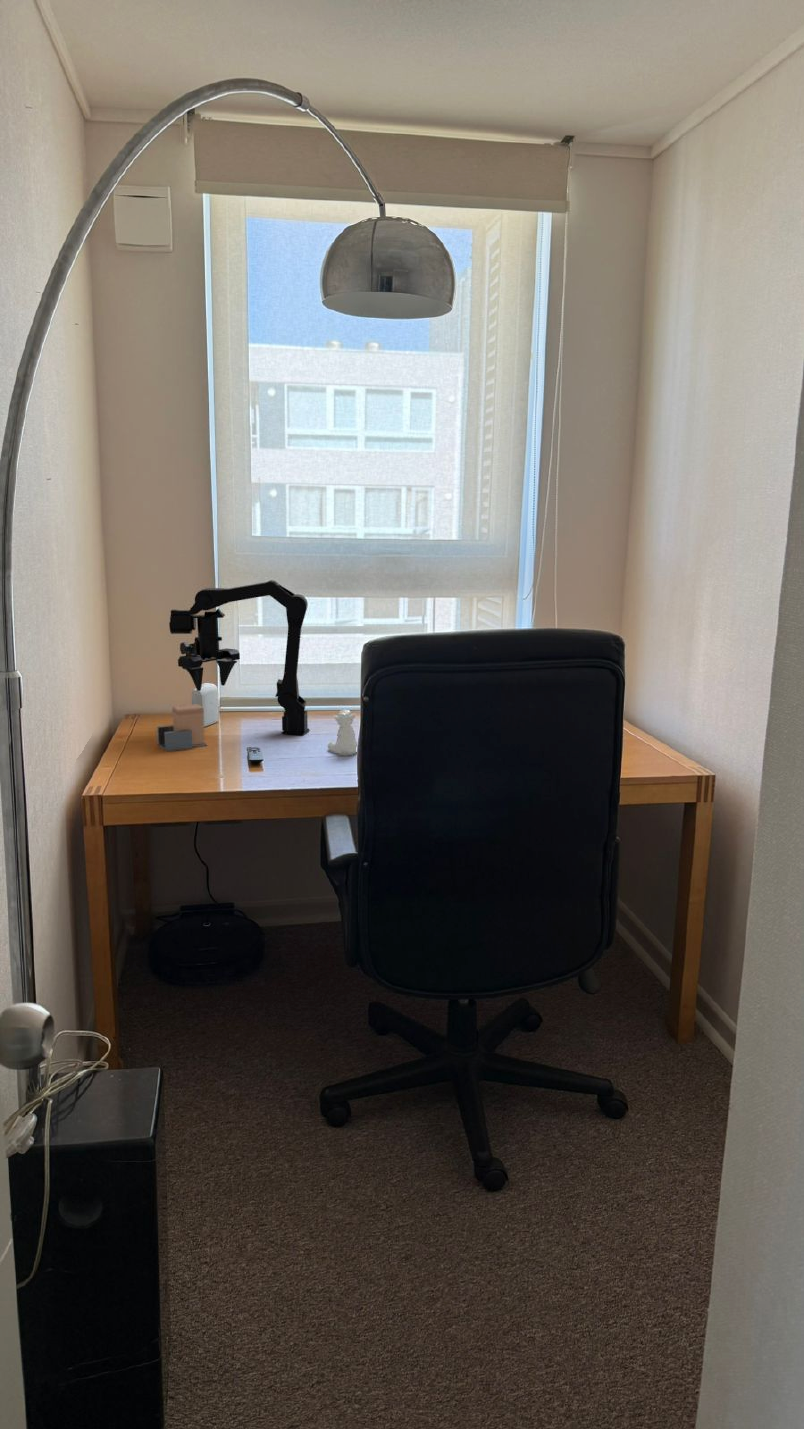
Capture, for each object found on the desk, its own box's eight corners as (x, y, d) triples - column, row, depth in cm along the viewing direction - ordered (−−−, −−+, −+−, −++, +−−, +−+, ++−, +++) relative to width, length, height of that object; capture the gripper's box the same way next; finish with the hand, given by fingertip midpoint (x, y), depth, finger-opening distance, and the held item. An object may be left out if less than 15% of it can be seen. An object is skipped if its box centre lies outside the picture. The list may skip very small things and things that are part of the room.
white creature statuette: (362, 748, 261) (362, 705, 258) (365, 756, 252) (366, 712, 250) (327, 749, 259) (327, 706, 257) (330, 757, 251) (329, 713, 248)
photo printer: (203, 728, 280) (201, 687, 277) (190, 727, 282) (188, 686, 279) (221, 721, 290) (220, 681, 287) (208, 720, 291) (207, 680, 288)
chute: (198, 739, 267) (198, 722, 266) (208, 746, 260) (207, 728, 259) (157, 744, 262) (157, 726, 261) (166, 751, 255) (165, 733, 254)
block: (199, 739, 266) (197, 704, 263) (204, 743, 261) (203, 707, 259) (173, 742, 262) (172, 706, 260) (179, 746, 258) (177, 710, 256)
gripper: (213, 627, 282) (215, 680, 285) (163, 635, 267) (166, 690, 270) (239, 630, 275) (242, 684, 279) (190, 638, 260) (193, 694, 264)
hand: (211, 687), depth 273 cm, fingers open, 9 cm apart
